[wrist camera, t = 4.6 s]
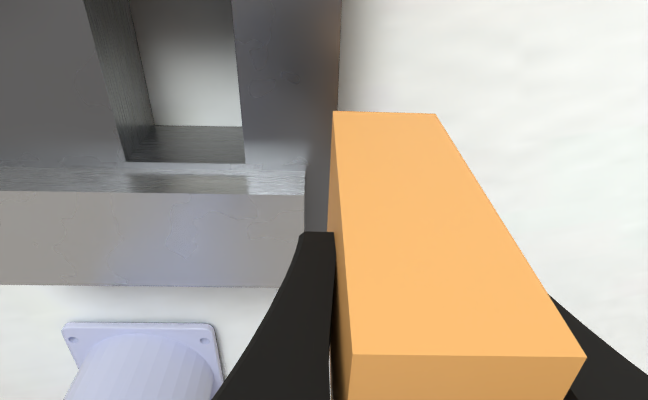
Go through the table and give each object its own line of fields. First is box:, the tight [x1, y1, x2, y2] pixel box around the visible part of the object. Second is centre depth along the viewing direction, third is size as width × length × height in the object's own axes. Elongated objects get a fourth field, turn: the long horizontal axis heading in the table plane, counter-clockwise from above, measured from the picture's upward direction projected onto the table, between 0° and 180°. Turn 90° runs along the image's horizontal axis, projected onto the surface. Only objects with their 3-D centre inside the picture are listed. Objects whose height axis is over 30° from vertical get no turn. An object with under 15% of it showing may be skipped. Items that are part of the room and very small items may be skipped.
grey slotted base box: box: [0, 0, 342, 288], centre depth 13 cm, size 16×14×4 cm
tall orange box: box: [327, 111, 587, 400], centre depth 9 cm, size 4×2×7 cm, turn 178°
